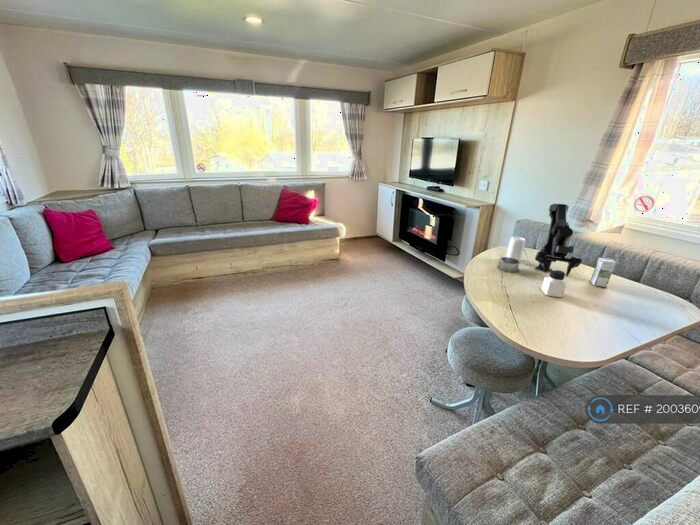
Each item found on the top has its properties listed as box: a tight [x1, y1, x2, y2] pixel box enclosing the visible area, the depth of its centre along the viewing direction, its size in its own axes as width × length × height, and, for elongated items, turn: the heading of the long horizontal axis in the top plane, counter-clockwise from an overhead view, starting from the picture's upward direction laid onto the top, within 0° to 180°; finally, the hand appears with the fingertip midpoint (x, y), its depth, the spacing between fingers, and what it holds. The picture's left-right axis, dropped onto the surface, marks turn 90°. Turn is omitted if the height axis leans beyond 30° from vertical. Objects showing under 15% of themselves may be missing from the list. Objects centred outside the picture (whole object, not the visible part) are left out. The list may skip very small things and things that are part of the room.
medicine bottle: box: [540, 269, 567, 298], centre depth 151 cm, size 7×7×12 cm
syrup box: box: [589, 257, 617, 288], centre depth 163 cm, size 6×6×14 cm
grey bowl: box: [497, 256, 521, 273], centre depth 181 cm, size 10×10×5 cm
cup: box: [506, 236, 526, 261], centre depth 193 cm, size 8×8×14 cm
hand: (556, 274), depth 152 cm, fingers open, 9 cm apart
